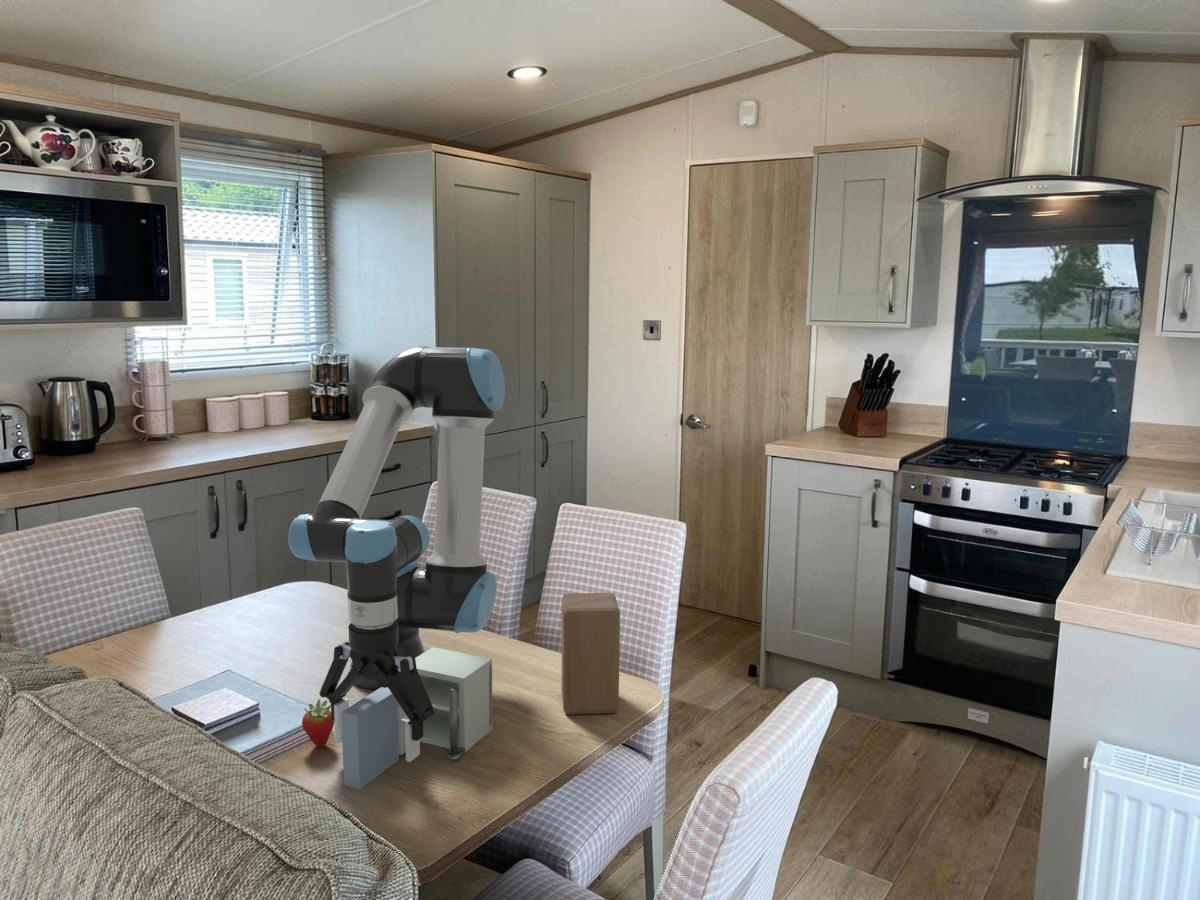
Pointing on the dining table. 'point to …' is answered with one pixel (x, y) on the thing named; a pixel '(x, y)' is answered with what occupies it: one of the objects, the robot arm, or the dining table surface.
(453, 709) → the hinge pin
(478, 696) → the cabinet
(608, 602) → the wooden block
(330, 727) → the fruit
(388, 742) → the door
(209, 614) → the dining table surface
